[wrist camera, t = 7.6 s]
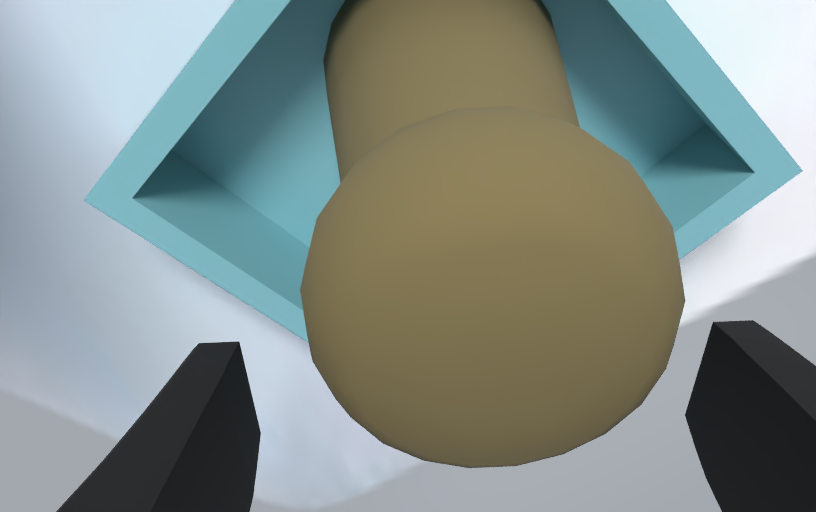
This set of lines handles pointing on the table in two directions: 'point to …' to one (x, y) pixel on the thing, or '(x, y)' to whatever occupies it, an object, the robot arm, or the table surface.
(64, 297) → the table surface
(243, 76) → the teal bin
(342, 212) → the cork
